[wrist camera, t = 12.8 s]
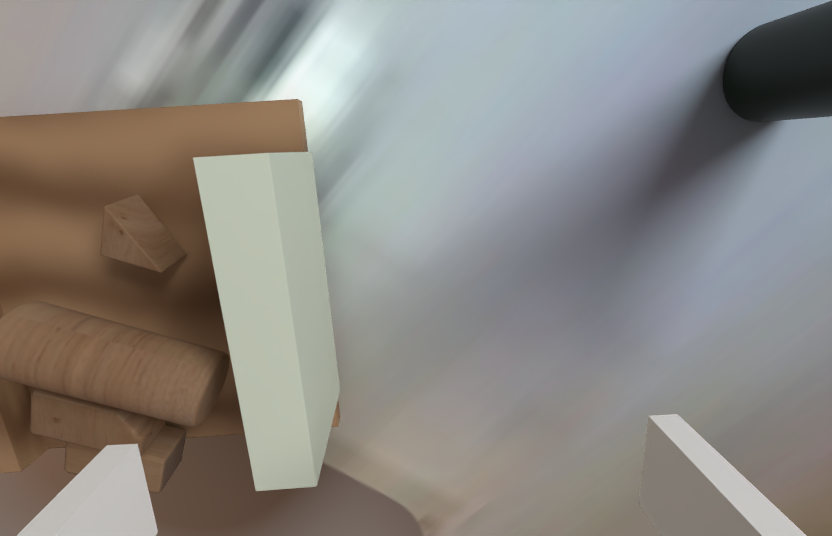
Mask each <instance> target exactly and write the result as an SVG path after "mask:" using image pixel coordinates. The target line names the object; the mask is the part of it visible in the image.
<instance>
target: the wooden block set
mask: <svg viewBox="0 0 832 536" xmlns="http://www.w3.org/2000/svg"><path fill="white" fill-rule="evenodd" d="M100 255H101V256H105V257H108V258H111V259H115V260H118V261H122V262H125V263H128V264H132V265H135V266H139V267H142V268H146V269H149V270H152V271H156V272H159V273H162V272H163V271H165V270H166V269H168V268H169V267H171V266H172V265H173V264H175V263H176V262H178V261H179V260H181V259H182V258H183V257H185V256H186V255H187V254H186V252H185V251H184V250H183V249H182V248H181V246H180V245H179V244H178V243H177V241H176V240H175V239H174V238H173V237H172V235H171V234H170V233H169V232H168V230H167V229H166V228H165V227H164V226H163V224H162V223H161V222H160V221H159V219H158V218H157V217H156V216H155V215H154V213H153V212H152V211H151V210H150V208H149V207H148V206H147V205H146V204H145V202H144V201H143V200H142V199H141V197H140V196H139V195H134V196H131V197H129V198H126V199H123V200H120V201H117V202H115V203H112V204H109V205H106V206H104V214H103V227H102V239H101V251H100ZM228 369H229V355H227V354H226V353H225V352H223V351H219V350H216V349H212V348H208V347H205V346H201V345H198V344H194V343H190V342H187V341H183V340H180V339H176V338H172V337H169V336H165V335H162V334H158V333H154V332H151V331H147V330H143V329H140V328H136V327H133V326H129V325H125V324H122V323H118V322H115V321H111V320H107V319H104V318H100V317H97V316H93V315H89V314H86V313H82V312H78V311H75V310H71V309H68V308H64V307H60V306H57V305H53V304H50V303H46V302H42V301H34V302H26V303H23V304H20V305H18V306H16V307H14V308H13V309H11V310H10V311H8V312H7V313H5V314H4V315H3V316H2V317H1V318H0V379H4V380H8V381H12V382H16V383H20V384H24V385H28V386H32V387H35V388H37V389H36V390H34V391H33V393H32V395H31V423H30V431H31V433H33V434H36V435H40V436H44V437H48V438H52V439H56V440H60V441H65V442H66V451H65V471H66V472H68V473H72V474H76V475H78V474H79V473H80V472H81V471H82V470H83V469H84V468H85V467H86V466H87V465H88V464H89V463H90V462H91V461H92V460H93V459H94V458H95V457H96V456H97V455H98V454H99V453H100V452H101V451H102V450H103V449H104V448H105V447H106V446H107V445H123V444H138V448H139V452H140V456H141V461H142V465H143V469H144V474H145V478H146V482H147V487H148V491H149V492H153V493H159V492H160V491H161V490H162V489H163V488H164V486H165V485H166V483H167V482H168V480H169V479H170V477H171V475H172V474H173V472H174V471H175V469H176V468H177V466H178V464H179V463H180V461H181V459H182V454H183V448H184V443H185V437H186V430H185V429H183V428H179V427H175V426H171V425H167V424H165V421H169V422H173V423H177V424H181V425H185V426H189V427H195V426H199V425H200V424H201V423H202V422H203V421H204V420H205V419H206V418H207V416H208V415H209V413H210V412H211V410H212V408H213V407H214V405H215V403H216V401H217V399H218V397H219V395H220V393H221V390H222V388H223V385H224V383H225V380H226V377H227V373H228Z"/></svg>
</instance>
